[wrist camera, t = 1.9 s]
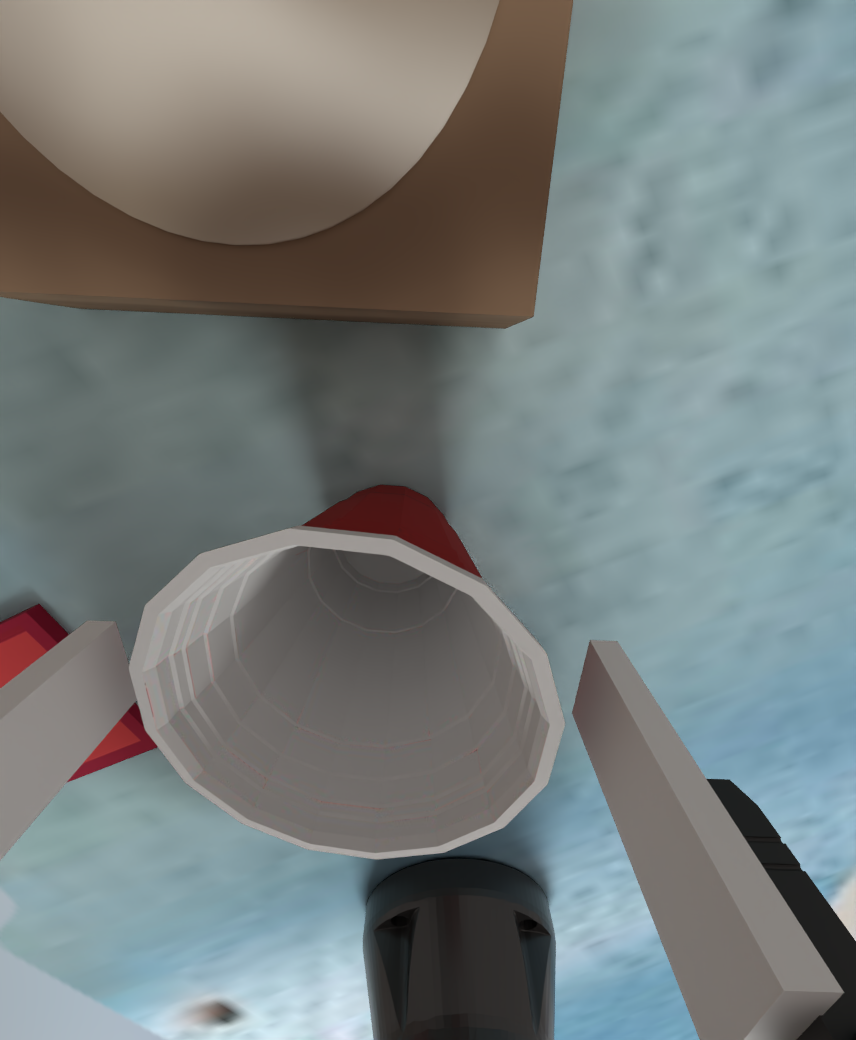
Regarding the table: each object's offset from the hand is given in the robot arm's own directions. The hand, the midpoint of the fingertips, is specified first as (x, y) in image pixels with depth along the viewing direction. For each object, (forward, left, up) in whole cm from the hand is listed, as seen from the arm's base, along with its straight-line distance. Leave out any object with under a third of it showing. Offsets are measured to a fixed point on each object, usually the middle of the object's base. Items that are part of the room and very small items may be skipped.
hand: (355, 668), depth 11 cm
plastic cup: (0, 0, -10) cm, 10 cm away
